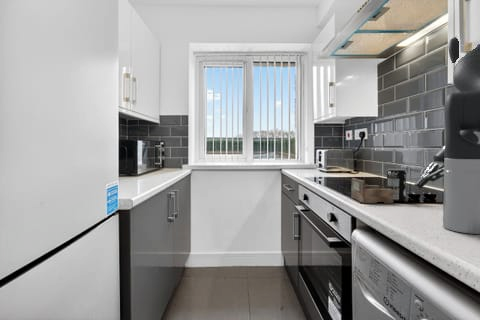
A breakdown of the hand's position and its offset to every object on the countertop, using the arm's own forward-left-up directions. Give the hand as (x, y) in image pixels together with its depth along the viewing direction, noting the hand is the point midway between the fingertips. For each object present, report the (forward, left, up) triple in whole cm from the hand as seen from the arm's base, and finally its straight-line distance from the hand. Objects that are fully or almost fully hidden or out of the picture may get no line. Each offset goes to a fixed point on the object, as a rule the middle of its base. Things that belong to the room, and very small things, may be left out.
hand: (417, 186), depth 116 cm
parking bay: (+14, +10, -5) cm, 18 cm away
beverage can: (+6, +5, -5) cm, 10 cm away
